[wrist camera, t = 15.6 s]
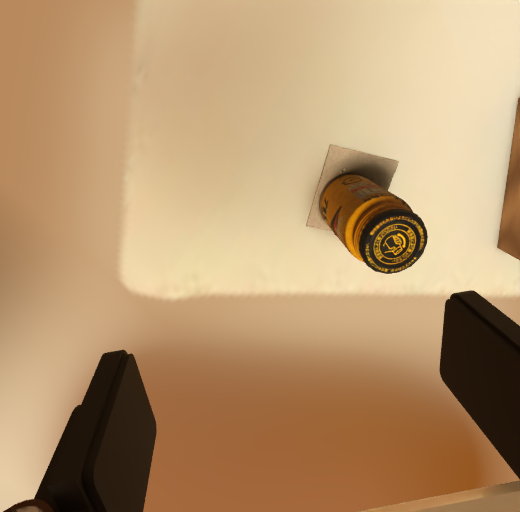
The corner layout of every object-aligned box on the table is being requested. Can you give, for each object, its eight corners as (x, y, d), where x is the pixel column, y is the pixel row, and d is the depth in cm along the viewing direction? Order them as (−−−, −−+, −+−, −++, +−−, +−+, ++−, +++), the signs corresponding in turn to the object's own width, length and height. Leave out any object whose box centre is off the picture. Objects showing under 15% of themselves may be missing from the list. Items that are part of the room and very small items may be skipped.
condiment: (306, 225, 40) (340, 276, 29) (330, 144, 37) (378, 167, 26) (369, 237, 42) (424, 291, 31) (397, 160, 38) (469, 189, 27)
